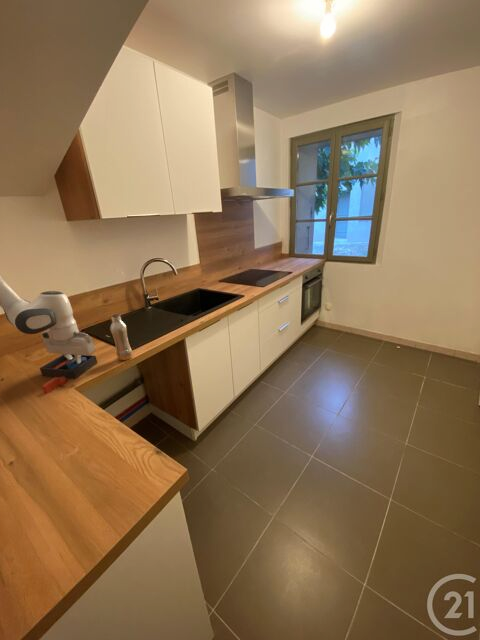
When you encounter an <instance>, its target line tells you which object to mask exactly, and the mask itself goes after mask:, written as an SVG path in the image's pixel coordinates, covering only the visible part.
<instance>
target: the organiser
mask: <svg viewBox="0 0 480 640" xmlns="http://www.w3.org/2000/svg"><path fill="white" fill-rule="evenodd" d="M71 356H72V357H73V358H76V357H75V356H74V355H71ZM81 357H86V359H87V361H86V362H84V363H83V364H81V365H79V366H78V367H76V368H75V369H73V370H68V368H67V365H66V364H67V363H69V361H68V359H67V358H66V357H65V356H64V354H60V356H58V357H56V358H55V359H53V360H50V361H49V362H48V363H46V364H44V365H43V366H40V368H39V371H40V373H41V376H43V377H49V376H50V378H55V377H57V378H58V377H65V378H66V379H69V380H71V379H72V380H76V379H78V378H79V377H80V376H82V375H83V374H85V373H86V372H87V371H88V370H90V369H92V368H93V367H94V366H95V365H97V364H98V360H97V357H96V355H92V354H91V355H89V356H85V355H81Z"/></svg>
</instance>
